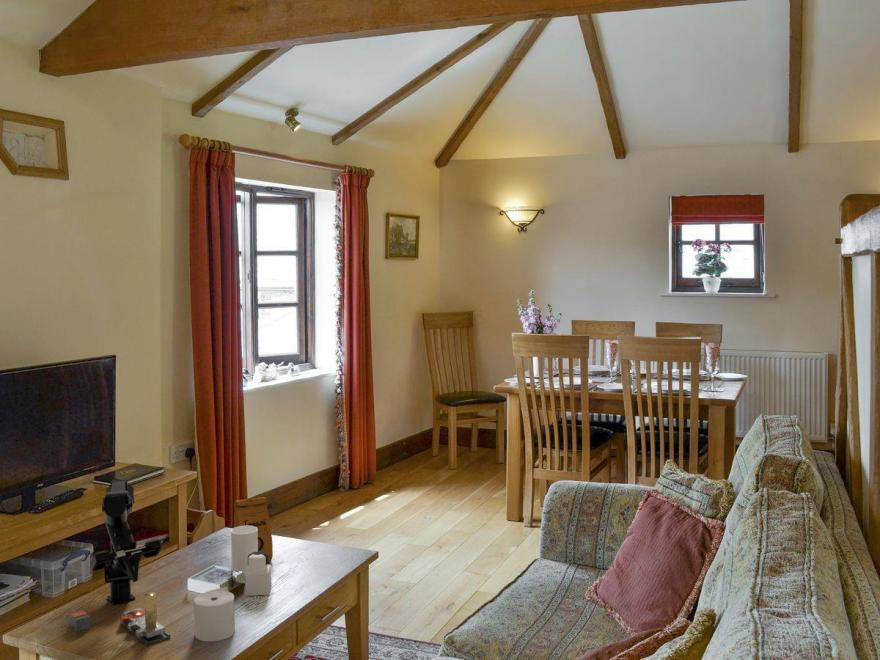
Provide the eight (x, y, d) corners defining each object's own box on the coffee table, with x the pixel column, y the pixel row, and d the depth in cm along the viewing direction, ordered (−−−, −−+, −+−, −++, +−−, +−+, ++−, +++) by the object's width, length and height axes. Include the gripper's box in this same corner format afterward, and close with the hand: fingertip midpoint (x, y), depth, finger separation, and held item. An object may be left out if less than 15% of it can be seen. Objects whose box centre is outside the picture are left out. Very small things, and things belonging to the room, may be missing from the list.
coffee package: (274, 564, 282) (273, 500, 280) (236, 569, 277) (235, 504, 275) (269, 554, 291) (268, 492, 289) (232, 559, 287) (231, 496, 284)
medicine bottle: (248, 587, 263) (247, 549, 262) (271, 586, 264) (270, 549, 262) (244, 596, 256) (244, 558, 255) (268, 595, 257) (268, 557, 255)
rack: (117, 619, 237) (115, 583, 236) (140, 612, 242) (139, 577, 241) (141, 639, 224) (139, 602, 223) (165, 632, 229) (164, 595, 228)
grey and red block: (69, 626, 236) (69, 612, 235) (82, 623, 238) (82, 608, 237) (76, 634, 231) (76, 619, 231) (89, 630, 233) (89, 615, 233)
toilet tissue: (197, 645, 224) (196, 608, 223) (191, 626, 235) (190, 592, 234) (238, 638, 229) (237, 602, 228) (230, 620, 240) (229, 586, 239)
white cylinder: (251, 584, 265) (251, 534, 264) (227, 582, 267) (226, 533, 265) (262, 574, 273) (261, 526, 272) (238, 572, 275) (237, 524, 273)
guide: (120, 623, 237) (120, 619, 237) (143, 616, 242) (143, 613, 242) (146, 645, 224) (146, 642, 224) (170, 638, 228) (170, 634, 228)
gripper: (144, 539, 252) (160, 586, 245) (80, 554, 240) (95, 603, 233) (154, 520, 246) (171, 567, 239) (88, 534, 234) (104, 584, 226)
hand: (135, 581), depth 234 cm, fingers closed
